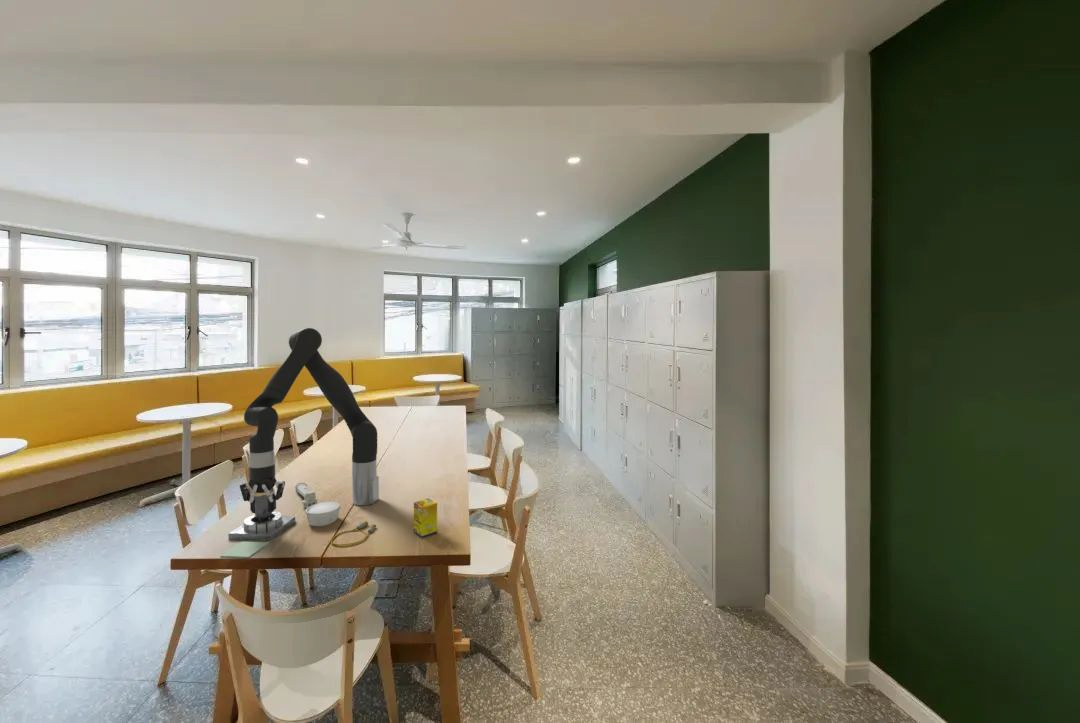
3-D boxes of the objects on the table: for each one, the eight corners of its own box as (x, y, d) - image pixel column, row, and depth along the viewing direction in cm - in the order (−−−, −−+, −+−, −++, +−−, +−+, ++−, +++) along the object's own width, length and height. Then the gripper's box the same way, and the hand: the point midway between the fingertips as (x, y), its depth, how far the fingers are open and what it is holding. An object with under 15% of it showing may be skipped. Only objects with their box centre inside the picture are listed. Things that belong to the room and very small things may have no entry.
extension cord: (385, 535, 147) (385, 529, 147) (338, 552, 135) (338, 546, 135) (369, 524, 155) (369, 519, 155) (323, 539, 143) (323, 533, 143)
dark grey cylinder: (275, 520, 151) (274, 487, 150) (267, 527, 146) (266, 492, 145) (259, 521, 150) (258, 487, 149) (251, 527, 145) (250, 493, 144)
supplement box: (413, 532, 148) (413, 502, 147) (428, 527, 152) (428, 497, 152) (421, 538, 144) (421, 507, 143) (437, 533, 148) (437, 502, 147)
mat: (268, 543, 139) (268, 542, 139) (249, 557, 130) (249, 556, 130) (241, 542, 139) (241, 541, 139) (220, 556, 130) (220, 555, 130)
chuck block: (295, 522, 155) (295, 510, 155) (269, 540, 141) (269, 527, 141) (257, 520, 155) (257, 509, 155) (228, 539, 142) (228, 526, 141)
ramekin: (303, 519, 157) (303, 505, 157) (336, 512, 164) (336, 499, 164) (308, 531, 148) (308, 516, 148) (343, 522, 155) (343, 508, 155)
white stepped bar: (306, 480, 188) (318, 489, 168) (307, 496, 187) (319, 506, 168) (293, 483, 184) (303, 492, 165) (293, 498, 184) (304, 509, 164)
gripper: (289, 460, 151) (290, 506, 152) (245, 460, 149) (247, 508, 150) (279, 466, 144) (280, 515, 145) (233, 467, 142) (234, 517, 143)
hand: (263, 511), depth 148 cm, fingers closed on dark grey cylinder, 5 cm apart
